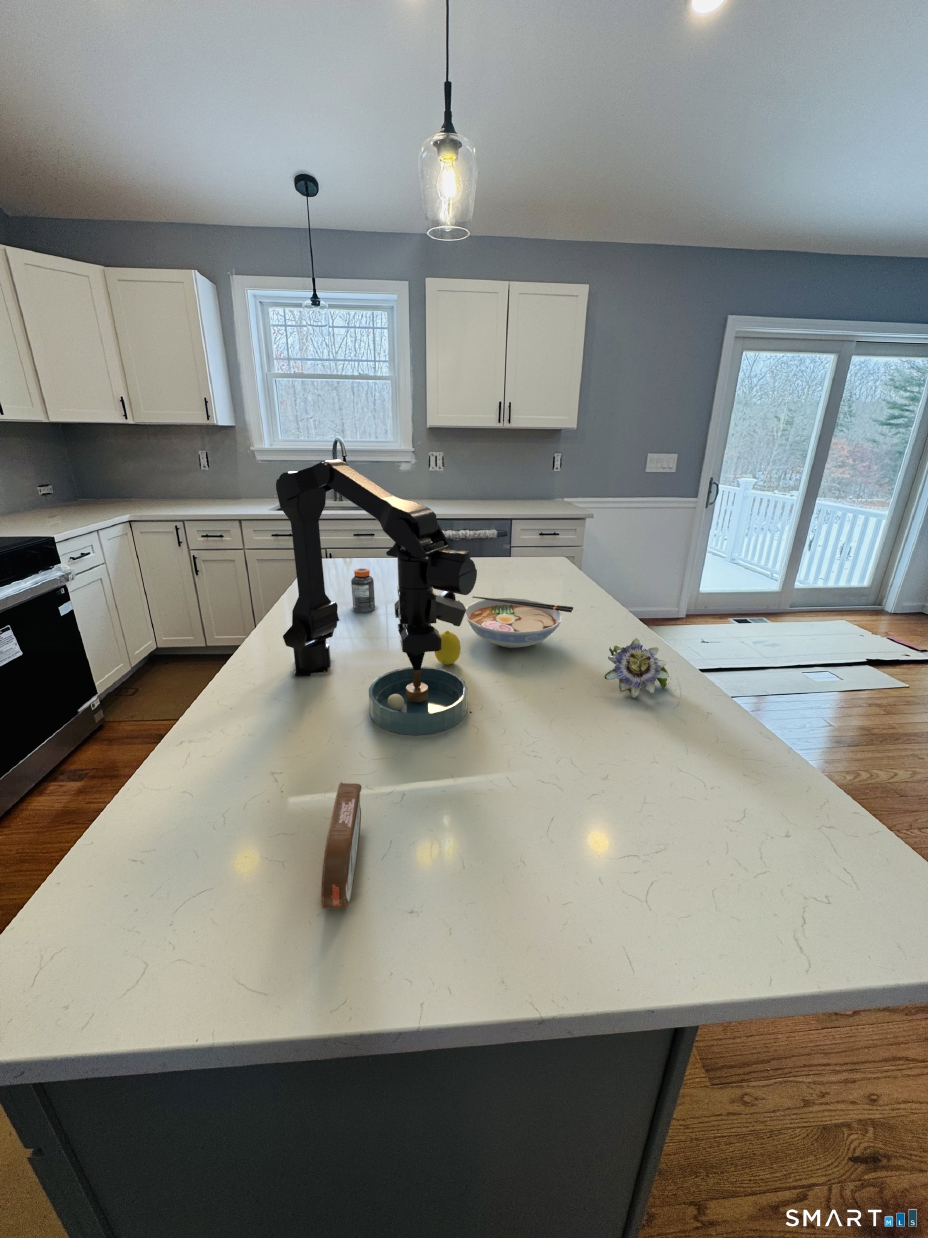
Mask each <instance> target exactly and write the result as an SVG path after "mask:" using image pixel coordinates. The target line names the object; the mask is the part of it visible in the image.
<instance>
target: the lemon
mask: <svg viewBox="0 0 928 1238" xmlns="http://www.w3.org/2000/svg"><path fill="white" fill-rule="evenodd" d="M439 634H440V637H441V650H440V651H433V652H434V655H435V658H436V660H437V661H438V662H439V663H441V664H442V665H445V666H449V665H452V664H455V662H457V661H458V660H459V658H460V656H461V641H460V639H459V637H458V636H457V635H456V634H455V633H454V632H452V631H450V630H445V631H444V632H442V633H439Z"/></svg>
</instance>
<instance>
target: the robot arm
mask: <svg viewBox="0 0 928 1238" xmlns="http://www.w3.org/2000/svg"><path fill="white" fill-rule="evenodd" d="M275 490H276V495H277V500H278V505H279V507H280V509H281V511H282V512H283V513H284V515H285V516H286V517H287V519H288V520H289V522H290V527H291V528H290V529H291V536H292V537H291V538H292V546H293V556H294V564H295V575H296V582H297V590H298V592H297V593H298V597H297V599H296V601H295V604H294V606H293V608H292V612H291V626H290V627H288V629H287V630H286V632H284V634H283V635H282V639H283V641H284V645H285V647H289V648H292V649H293V658H294V667H295V669H294V673H293V674H294V677H303V676H311V674H321V673H328V670H329V668H331V663H332V661H331V647H330V644H327V639H329V638H332V637H333V636H334V633H335V629H337V627H338V622H339V621H340V618H339V614H338V607H339V606H338V603H337V602H336V601H332V600H331V599H330V598H329V596H328V595H327V594H326V588H325V587H326V586H325V576H324V566H323V554H322V553H323V552H322V543H321V532H320V519H321V516H322V514H323V511H324V509H325V507H326V503H327V501H326V499H327V493H329V492H331V491H332V490H333V491H335V492H336V493H338V494H339V495H341V496H342V497H343V498H345V499H346V500H347V501H350V503H352V504H354V505H355V506H357V508H360V509H361V510H362V511H364V512H365V513H367V514H368V515H369V516H372V517H373V518H374V519H375V520H377V522H378V523H379V524H380V527H381V529H382V531H383V532H384V533H385V534H386V535H387V537H389V538H390V539H391V540H392V541H393V542H394V544H393V545H392V546H391V548H389V549H388V550H387V551H386V552H385V554H386V556H387V557H393V558H397V587H396V588H397V596H398V600H397V601H396V602H394V616H395V619H399V623H397V624H396V626H397V627H396V628H397V631H398V633H399V637H398V638H399V641H400V647H401V651H402V653H404V654H406V656H407V658H408V661H409V662H410V665H411V667H413V669H414V670H420V669H421V667H422V665H423V662H424V658H425V653H429V652H431V653H432V652H434V651H440V650H441V637H440V634H441V633H440V632H439V630H438V629H437V628H436V627H435V626H433V624H437V620H438V621H441V622H445V623H448V624H450V625H451V624H452V625H453V626H455V627H461V625H462V622H463V620H464V617H465V612H466V606H465V605H464V603H462V602H461V601H460V600H459V599H456V594H457V595H461V596H468V595H470V593H472V591H473V590H474V587H475V585H476V583H477V578H478V569H477V568H476V564H475V562H474V561H473V559H471V552H470V550H455V549H452V545H451V543H450V541H449V540H448V538H447V537H446V535H445V533H444V532H443V530H442V528H441V526H440V525H439V523H438V519H437V514H436V513H435V512H434V510H432V508H429V507H428V506H425V505H423V504H420V503H418V502H415V501H411V500H408V499H403V498H400V497H398V496H395V495H393V494H392V493H390V492H389V491H387V490H386V489H384V488H383V487H381V486H379V485H377V484H376V483H375V482H373V481H371V480H370V479H368V478H367V477H365V476H364V475H363V474H361V473H359V472H358V471H356V470H355V469H353V468H352V467H350V466H349V465H348V463H346V461H343V460H341V459H332V460H322V461H321V460H320V462H318V463H316V464H313V465H312V466H310V467H307V468H304V469H300V470H297V471H286V472H282V473H281V474H280V475H279V477H278V478H277V479H276V482H275ZM427 542H430V543H427ZM424 543H427V544H424ZM422 544H423V545H422ZM434 590H437V591H442V593H441V594H440V593H438V594H436V593H435V592H434Z"/></svg>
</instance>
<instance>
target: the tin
mask: <svg viewBox="0 0 928 1238" xmlns="http://www.w3.org/2000/svg"><path fill="white" fill-rule="evenodd" d="M361 792H362V785H361V784H360V783H354V782H353V783H352V782H347V783H346V782H341V781H340V782H339V784H338V785H337V791H336V795H335V800H334V803H333V809H332V813H331V818H330V822H329V827H328V831H327V836H326V842H325V848H324V854H323V862H322V871H321V873H322V874H321V893H320V896H321V898H320V899H321V900H320V901H321V908H322V910H323V911H324V910H327V909H345V908H348V907H349V905H350V903H351V899H352V892H353V886H354V880H355V873H356V867H357V860H358V852H359V843H360V833H361V823H362V822H361V821H362V808H361Z"/></svg>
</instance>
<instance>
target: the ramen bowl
mask: <svg viewBox="0 0 928 1238" xmlns="http://www.w3.org/2000/svg"><path fill="white" fill-rule="evenodd" d="M471 598H472V599H479V600H477V601H475V602H473V603H471V604H469V605H467V606H465V608H466V612H465V615H464V617H465V619H466V621H467V622H468V624H469V626H470V627H471V629H472V630H473V632H474V633H475V635H477V636H478V637H480V638H481V639H483V640H485V641H486V642H488V643H490V644H492V645H496V646H500V647H503V648H508V649H519V648H524V647H525V648H526V647H530V646H533V645H537V644H539V643H541V642H543V641H544V640H546V639H547V638H549V637H550V636H551V634H553V633H555V631H556V630H557V628H558V627H559V626H560V624H561V623H562V620H563V619H562V618H563V617H562V616H563V615H562V612H566V613H572V612H573V611H574V606H570V605H569V606H567V605H558V604H548V603H544V602H542V601H537V600H534V599H533V600H532V599H528V598H518V597H482V596H475V595H473V596H472V597H471Z"/></svg>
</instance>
